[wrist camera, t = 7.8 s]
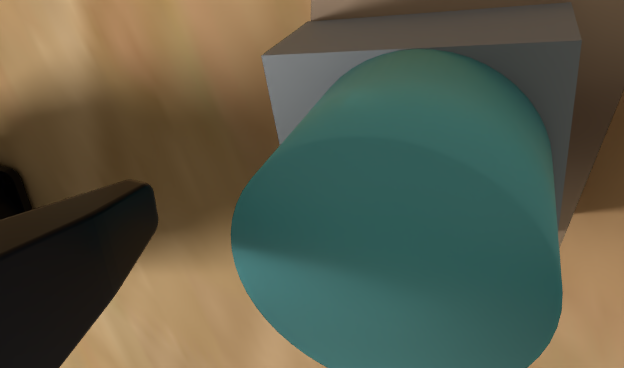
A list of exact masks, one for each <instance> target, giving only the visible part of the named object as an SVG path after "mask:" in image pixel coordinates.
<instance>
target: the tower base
mask: <svg viewBox="0 0 624 368" xmlns="http://www.w3.org/2000/svg"><path fill="white" fill-rule="evenodd" d="M566 2H571V3H572V7H573V10H574V14H575V17H576V21H577V25H578V28H579V32H580V35H581V39H582V44H581V52H580V60H579V68H578V76H577V84H576V92H575V100H574V109H573V117H572V125H571V133H570V141H569V149H568V157H567V165H566V173H565V181H564V189H563V198H562V206H561V214H560V222H559V230H558V240H559V248H560V245H561V243H562V241H563V238H564V236H565V233H566V231H567V228H568V226H569V223H570V221H571V218H572V216H573V213H574V211H575V209H576V206H577V204H578V201H579V199H580V196H581V194H582V191H583V189H584V186H585V184H586V181H587V179H588V177H589V174H590V172H591V169H592V167H593V164H594V162H595V159H596V157H597V154H598V152H599V149H600V147H601V145H602V142H603V140H604V137H605V135H606V132H607V130H608V127H609V125H610V122H611V120H612V118H613V115H614V113H615V110H616V108H617V105H618V103H619V100H620V98H621V95H622V93H623V90H624V0H311V21H323V20H336V19H350V18H363V17H377V16H390V15H404V14H417V13H431V12H444V11H458V10H471V9H485V8H498V7H512V6H525V5H539V4H552V3H566Z"/></svg>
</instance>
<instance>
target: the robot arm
mask: <svg viewBox="0 0 624 368" xmlns="http://www.w3.org/2000/svg"><path fill="white" fill-rule="evenodd" d="M157 225H158V214H157V208H156V203H155V197H154V192H153V189H152V187H151V186H150V185H149V184H147V183H144V182H140V181H136V180H125V181H122V182H119V183H116V184H113V185H109V186H106V187H103V188H100V189H97V190H94V191H90V192H87V193H84V194H81V195H78V196H75V197H71V198H68V199H65V200H62V201H59V202H56V203H52V204H49V205H46V206H43V207H40V208H37V209H33V210H32V209H31V206H30V203H29V200H28V198H27V195H26V192H25V189H24V187H23V184H22V181H21V178H20V176H19V175H18V173H17V172H16V171H15V170H13V169H11V168H8V167H5V166H1V165H0V368H59V367H60V366H61V365H62V364H63V362H64V361H65V360H66V358H67V357H68V356H69V355H70V353H71V352H72V351H73V349H74V348H75V347H76V346H77V344H78V343H79V342H80V340H81V339H82V338H83V337H84V335H85V334H86V333H87V331H88V330H89V329H90V328H91V326H92V325H93V324H94V322H95V321H96V320H97V319H98V317H99V316H100V315H101V313H102V312H103V311H104V309H105V308H106V307H107V306H108V304H109V303H110V301H111V300H112V299H113V297H114V296H115V295H116V293H117V292H118V290H119V289H120V287H121V286H122V284H123V282H124V281H125V279H126V278H127V276H128V274H129V273H130V271H131V270H132V268H133V266H134V265H135V263H136V262H137V260H138V258H139V257H140V255H141V254H142V252H143V250H144V249H145V247H146V246H147V244H148V242H149V241H150V239H151V238H152V236H153V234H154V233H155V231H156V229H157Z"/></svg>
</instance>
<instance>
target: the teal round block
mask: <svg viewBox="0 0 624 368" xmlns="http://www.w3.org/2000/svg"><path fill="white" fill-rule="evenodd" d="M231 245H232V253H233V257H234V262H235V266H236V269H237V271H238V274H239V277H240V280H241V282H242V284H243V286H244V288H245V290H246V292H247V294H248V295H249V297H250V298H251V300H252V301H253V303H254V304H255V306H256V307H257V309H258V310H259V311H260V312H261V314H262V315H263V316H264V317H265V319H266V320H267V321H268V322H269V323H270V324H271V325H272V326H273V327H274V328H275V329H276V330H277V331H278V332H279V333H280V334H281V335H282V336H283V337H284V338H285V339H286V340H288V341H289V342H290V343H291V344H292V345H294V346H295V347H296V348H298V349H299V350H300V351H302V352H303V353H304V354H306V355H307V356H309V357H311V358H312V359H314V360H315V361H317V362H319V363H320V364H322V365H324V366H326V367H328V368H527V367H528V366H529V365H531V364H532V363H533V362H534V361H535V360H536V359H537V358H538V357H539V356H540V355H541V354H542V352H543V351H544V350H545V348H546V347H547V346H548V344H549V343H550V341H551V339H552V337H553V335H554V333H555V331H556V329H557V326H558V322H559V318H560V315H561V311H562V293H563V292H562V279H561V266H560V253H559V240H558V226H557V213H556V200H555V187H554V174H553V161H552V152H551V145H550V141H549V137H548V134H547V131H546V128H545V125H544V123H543V121H542V119H541V117H540V115H539V113H538V112H537V110H536V109H535V107H534V106H533V104H532V103H531V101H530V100H529V99H528V98H527V96H526V95H525V94H524V93H523V92H522V91H521V90H520V89H519V88H518V87H517V86H516V85H515V84H514V83H512V82H511V81H510V80H509V79H508V78H506V77H505V76H504V75H503V74H501V73H499V72H498V71H496V70H494V69H493V68H491V67H489V66H488V65H486V64H484V63H481V62H479V61H477V60H474V59H472V58H470V57H467V56H463V55H460V54H456V53H453V52H447V51H441V50H434V49H409V50H400V51H394V52H390V53H386V54H382V55H379V56H377V57H374V58H371V59H369V60H366V61H364V62H363V63H361V64H359V65H357V66H355V67H354V68H352V69H351V70H349V71H348V72H347V73H345V74H344V75H343V76H341V77H340V78H339V79H338V80H337V81H336V82H335V83H334V84H333V85H332V86H331V87H330V88H329V89H328V91H327V92H326V93H325V94H324V95H323V96H322V98H321V99H320V100H319V101H318V102H317V103H316V104H315V106H314V107H313V108H312V109H311V110H310V111H309V113H308V114H307V115H306V116H305V117H304V118H303V119H302V121H301V122H300V123H299V124H298V125H297V126H296V128H295V129H294V130H293V131H292V132H291V133H290V134H289V136H288V137H287V138H286V139H285V140H284V141H283V143H282V144H281V145H280V146H279V147H278V148H277V149H276V151H275V152H274V153H273V154H272V155H271V156H270V158H269V159H268V160H267V161H266V162H265V163H264V164H263V166H262V167H261V168H260V169H259V170H258V171H257V172H256V174H255V175H254V176H253V177H252V178H251V180H250V181H249V183H248V184H247V185H246V187H245V188H244V190H243V191H242V193H241V195H240V197H239V200H238V202H237V204H236V207H235V211H234V214H233V218H232V226H231Z"/></svg>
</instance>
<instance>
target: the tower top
mask: <svg viewBox="0 0 624 368" xmlns="http://www.w3.org/2000/svg"><path fill="white" fill-rule="evenodd" d="M581 44H582V39H581V35H580V32H579V28H578V25H577V21H576V17H575V14H574V10H573V7H572V3H571V2H566V3H552V4H539V5H525V6H512V7H498V8H485V9H471V10H458V11H444V12H431V13H417V14H404V15H390V16H377V17H363V18H350V19H336V20H323V21H309V22H307V23H305V24H304V25H302V26H301V27H300V28H298V29H297V30H296V31H294V32H293V33H292V34H290V35H289V36H287V37H286V38H285V39H283V40H282V41H281V42H279V43H278V44H276V45H275V46H274V47H272V48H271V49H270V50H268V51H267V52H266V53H264V54H263V55H261V57H262V61H263V66H264V71H265V76H266V81H267V86H268V91H269V95H270V100H271V105H272V110H273V115H274V120H275V125H276V129H277V134H278V139H279V144H280V145H281V144H282V143H283V141H284V140H285V139H286V138H287V137H288V136H289V134H290V133H291V132H292V131H293V130H294V129H295V128H296V126H297V125H298V124H299V123H300V122H301V121H302V119H303V118H304V117H305V116H306V115H307V114H308V113H309V111H310V110H311V109H312V108H313V107H314V106H315V104H316V103H317V102H318V101H319V100H320V99H321V98H322V96H323V95H324V94H325V93H326V92H327V91H328V89H329V88H330V87H331V86H332V85H333V84H334V83H335V82H336V81H337V80H338V79H339V78H340V77H341V76H343V75H344V74H345V73H347V72H348V71H349V70H351V69H352V68H354V67H355V66H357V65H359V64H361V63H363V62H364V61H366V60H369V59H371V58H374V57H377V56H379V55H382V54H386V53H390V52H394V51H400V50H409V49H434V50H441V51H447V52H453V53H456V54H460V55H463V56H467V57H470V58H472V59H474V60H477V61H479V62H481V63H484V64H486V65H488V66H489V67H491V68H493V69H494V70H496V71H498V72H499V73H501V74H503V75H504V76H505V77H506V78H508V79H509V80H510V81H511V82H512V83H514V84H515V85H516V86H517V87H518V88H519V89H520V90H521V91H522V92H523V93H524V94H525V95H526V96H527V98H528V99H529V100H530V101H531V103H532V104H533V106H534V107H535V109H536V110H537V112H538V113H539V115H540V117H541V119H542V121H543V123H544V125H545V128H546V131H547V134H548V137H549V141H550V145H551V152H552V161H553V174H554V187H555V200H556V213H557V226H558V230H559V222H560V214H561V206H562V198H563V189H564V181H565V173H566V165H567V157H568V149H569V141H570V133H571V125H572V117H573V109H574V100H575V92H576V84H577V76H578V68H579V60H580V52H581Z"/></svg>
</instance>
